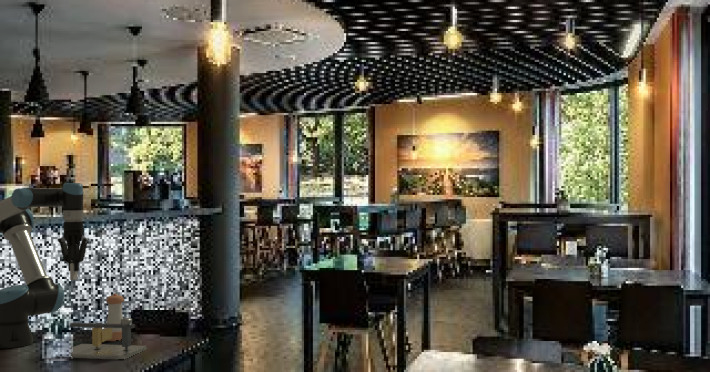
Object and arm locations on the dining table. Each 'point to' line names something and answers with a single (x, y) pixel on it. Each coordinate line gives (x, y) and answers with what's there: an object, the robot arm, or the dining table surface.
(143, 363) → the dining table surface
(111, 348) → the bolt plate
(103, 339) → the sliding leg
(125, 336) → the divider beam
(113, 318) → the salt shaker
